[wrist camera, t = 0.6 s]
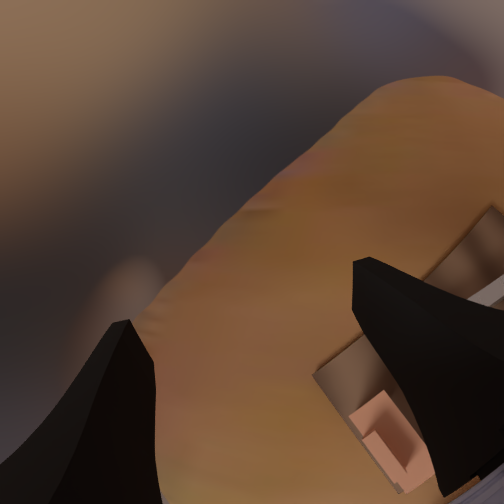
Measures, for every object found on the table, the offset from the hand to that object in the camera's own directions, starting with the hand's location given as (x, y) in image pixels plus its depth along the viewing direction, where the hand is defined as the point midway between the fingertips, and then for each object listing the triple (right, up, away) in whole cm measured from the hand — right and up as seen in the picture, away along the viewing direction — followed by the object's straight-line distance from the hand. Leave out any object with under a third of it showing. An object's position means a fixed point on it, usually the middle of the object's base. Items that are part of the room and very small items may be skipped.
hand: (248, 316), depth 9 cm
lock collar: (+11, -13, +10) cm, 20 cm away
